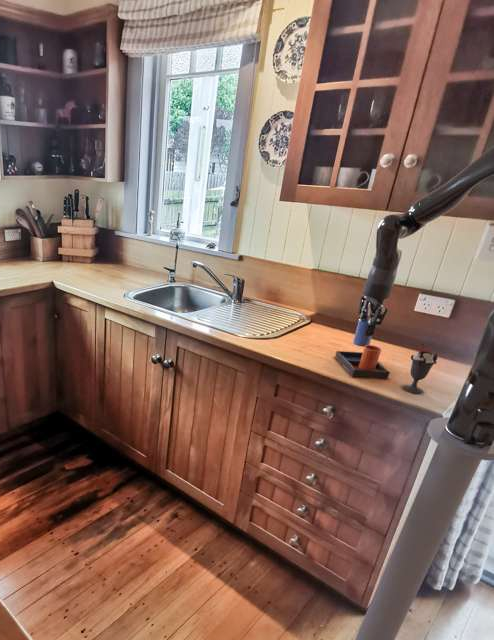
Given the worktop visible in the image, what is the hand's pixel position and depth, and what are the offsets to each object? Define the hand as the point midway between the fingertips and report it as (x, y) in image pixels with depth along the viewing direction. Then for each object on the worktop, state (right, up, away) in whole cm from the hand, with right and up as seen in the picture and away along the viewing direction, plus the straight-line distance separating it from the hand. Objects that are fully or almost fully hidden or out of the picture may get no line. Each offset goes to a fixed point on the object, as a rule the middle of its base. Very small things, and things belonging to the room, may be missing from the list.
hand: (364, 332), depth 152 cm
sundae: (+9, -19, -11) cm, 23 cm away
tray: (-1, -12, +2) cm, 12 cm away
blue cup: (0, -4, +2) cm, 4 cm away
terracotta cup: (-1, -13, -2) cm, 13 cm away
